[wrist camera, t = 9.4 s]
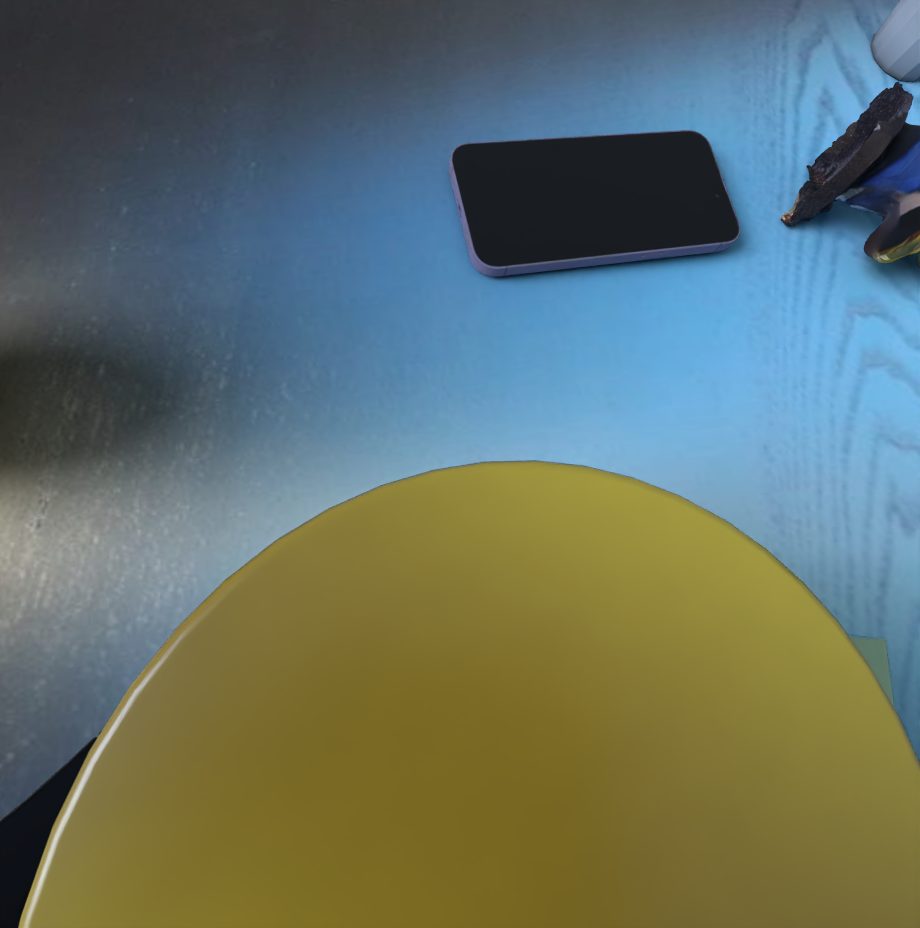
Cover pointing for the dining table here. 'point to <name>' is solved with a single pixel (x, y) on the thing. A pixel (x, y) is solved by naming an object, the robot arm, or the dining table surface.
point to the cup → (900, 42)
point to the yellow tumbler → (497, 731)
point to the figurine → (872, 176)
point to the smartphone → (590, 200)
